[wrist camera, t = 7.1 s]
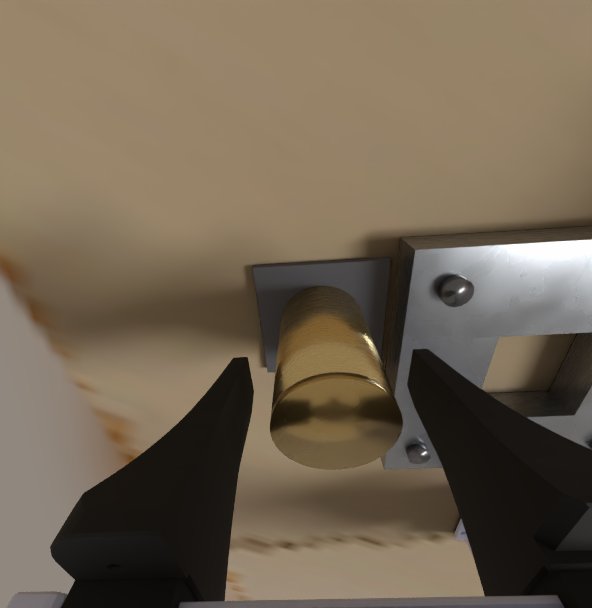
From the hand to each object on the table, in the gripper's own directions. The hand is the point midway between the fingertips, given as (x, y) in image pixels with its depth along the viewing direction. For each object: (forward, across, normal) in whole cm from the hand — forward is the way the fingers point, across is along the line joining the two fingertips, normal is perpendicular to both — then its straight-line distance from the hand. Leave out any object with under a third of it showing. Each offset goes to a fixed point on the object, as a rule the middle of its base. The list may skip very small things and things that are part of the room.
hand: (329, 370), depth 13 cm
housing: (+4, -12, +4) cm, 13 cm away
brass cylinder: (+4, 0, 0) cm, 4 cm away
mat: (+4, 0, 0) cm, 4 cm away
